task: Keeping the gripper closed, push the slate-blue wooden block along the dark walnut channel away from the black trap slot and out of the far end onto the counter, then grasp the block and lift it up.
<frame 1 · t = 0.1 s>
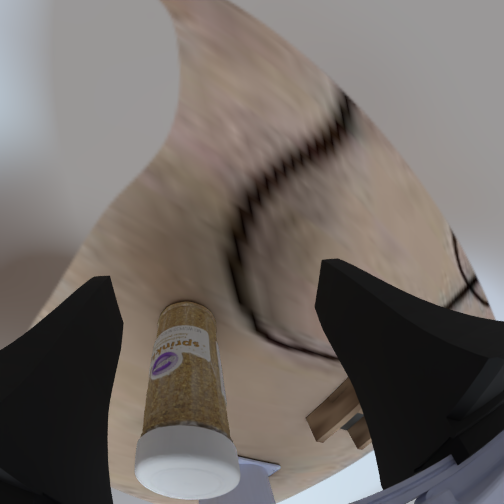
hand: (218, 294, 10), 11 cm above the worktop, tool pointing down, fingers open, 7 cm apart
walnut channel: (367, 390, 28), on the worktop
sprinkles bottle: (187, 324, 22), on the worktop
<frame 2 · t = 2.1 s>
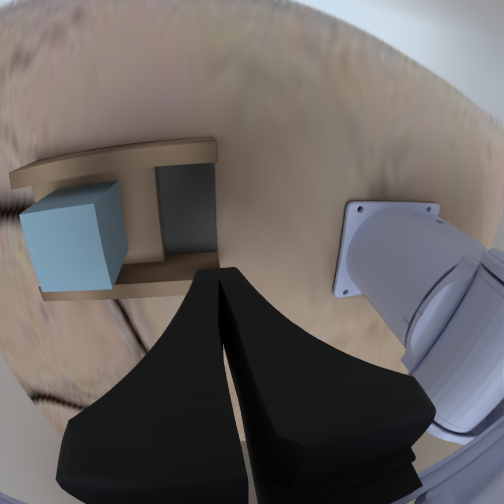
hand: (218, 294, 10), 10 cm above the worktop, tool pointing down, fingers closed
walnut channel: (122, 211, 17), on the worktop
blue block: (90, 219, 16), point 1 cm above the worktop, touching walnut channel
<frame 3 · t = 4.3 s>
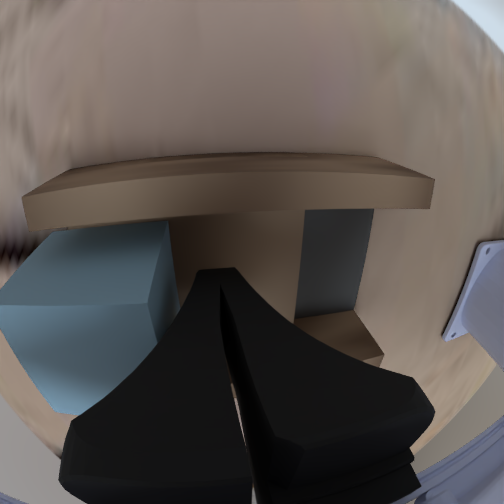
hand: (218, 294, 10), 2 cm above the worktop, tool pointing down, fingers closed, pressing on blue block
walnut channel: (231, 260, 12), on the worktop
blue block: (117, 281, 10), point 1 cm above the worktop, touching gripper, walnut channel
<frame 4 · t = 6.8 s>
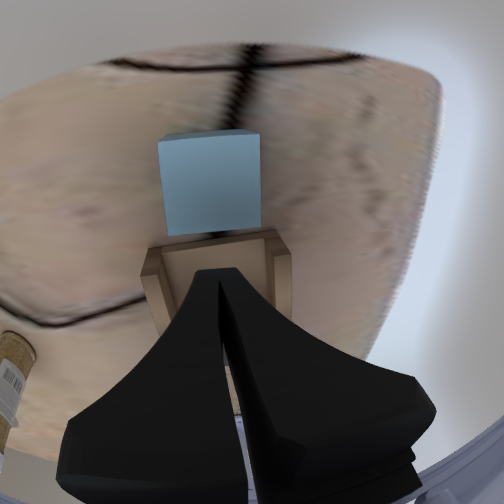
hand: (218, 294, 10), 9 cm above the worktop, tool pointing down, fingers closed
walnut channel: (223, 311, 22), on the worktop
sprinkles bottle: (19, 346, 20), on the worktop
blue block: (212, 215, 16), point 2 cm above the worktop, tilted 90°
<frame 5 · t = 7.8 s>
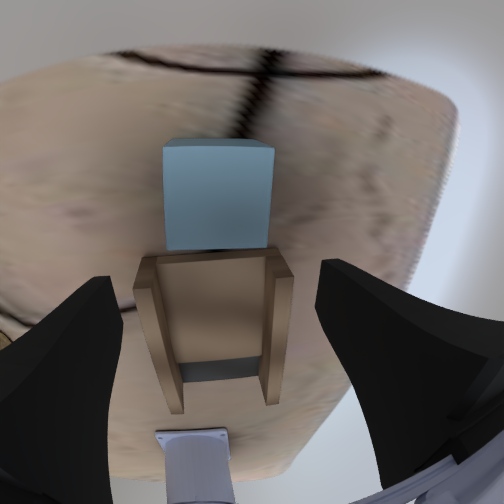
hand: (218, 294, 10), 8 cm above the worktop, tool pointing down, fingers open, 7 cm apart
walnut channel: (215, 327, 21), on the worktop
sprinkles bottle: (1, 343, 18), on the worktop
blue block: (214, 229, 15), point 2 cm above the worktop, tilted 90°
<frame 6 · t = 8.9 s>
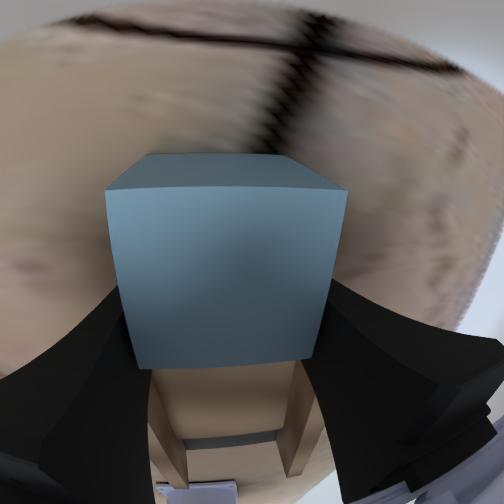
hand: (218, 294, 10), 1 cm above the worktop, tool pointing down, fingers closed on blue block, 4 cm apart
walnut channel: (225, 402, 15), on the worktop
blue block: (218, 312, 9), point 2 cm above the worktop, tilted 90°, touching gripper
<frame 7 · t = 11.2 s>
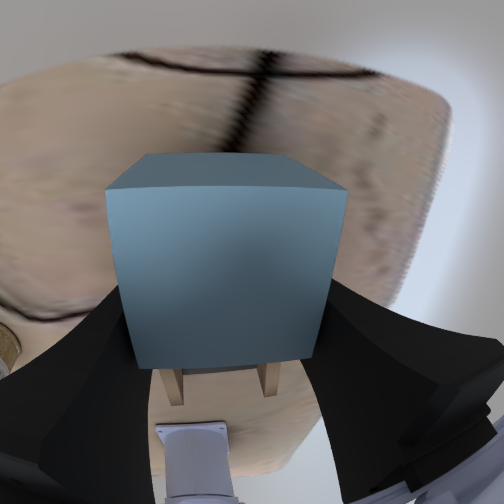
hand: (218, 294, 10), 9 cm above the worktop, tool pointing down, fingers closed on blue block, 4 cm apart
walnut channel: (214, 319, 21), on the worktop
sprinkles bottle: (4, 337, 19), on the worktop
blue block: (219, 312, 9), point 10 cm above the worktop, tilted 90°, touching gripper
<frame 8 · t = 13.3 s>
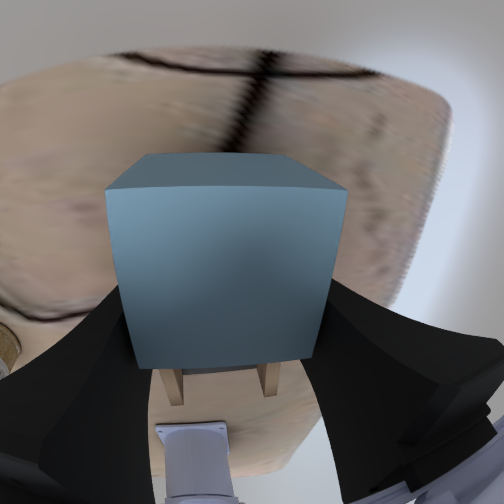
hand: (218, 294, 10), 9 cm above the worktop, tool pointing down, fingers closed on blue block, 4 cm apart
walnut channel: (214, 319, 21), on the worktop
sprinkles bottle: (4, 337, 19), on the worktop
blue block: (219, 312, 9), point 10 cm above the worktop, tilted 90°, touching gripper
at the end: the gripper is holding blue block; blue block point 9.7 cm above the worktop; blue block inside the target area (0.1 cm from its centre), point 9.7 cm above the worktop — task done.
